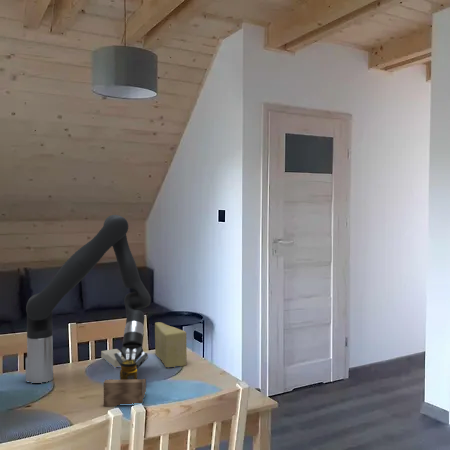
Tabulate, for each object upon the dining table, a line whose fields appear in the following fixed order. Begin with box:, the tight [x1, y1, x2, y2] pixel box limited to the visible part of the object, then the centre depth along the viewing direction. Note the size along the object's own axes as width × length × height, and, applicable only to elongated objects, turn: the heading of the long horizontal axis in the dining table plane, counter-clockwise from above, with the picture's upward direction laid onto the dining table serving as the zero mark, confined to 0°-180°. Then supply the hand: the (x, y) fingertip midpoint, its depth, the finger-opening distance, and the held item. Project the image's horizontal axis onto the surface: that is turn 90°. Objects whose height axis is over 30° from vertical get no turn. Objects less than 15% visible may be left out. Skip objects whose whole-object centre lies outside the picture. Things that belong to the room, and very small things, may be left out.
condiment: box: [119, 360, 138, 380], centre depth 181 cm, size 7×8×12 cm
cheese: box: [154, 321, 188, 368], centre depth 222 cm, size 22×10×15 cm, turn 30°
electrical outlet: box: [100, 348, 126, 367], centre depth 221 cm, size 7×4×18 cm
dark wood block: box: [103, 378, 147, 407], centre depth 178 cm, size 13×10×8 cm
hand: (128, 377), depth 186 cm, fingers closed
